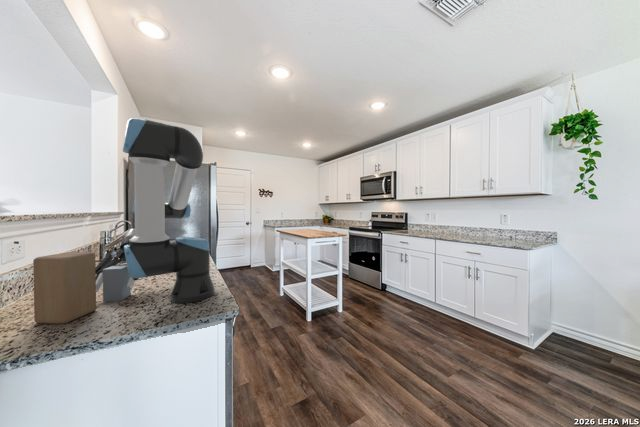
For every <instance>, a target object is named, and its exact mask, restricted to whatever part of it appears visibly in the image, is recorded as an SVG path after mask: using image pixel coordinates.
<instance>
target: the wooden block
mask: <svg viewBox="0 0 640 427" xmlns="http://www.w3.org/2000/svg"><path fill="white" fill-rule="evenodd" d="M32 262H33V265H32V266H33V270H32V272H33V309H34V310H33V311H34V312H33V313H34V314H33V316H34V317H33V320H34V322H35V324H67V323H69V322H72V321H74V320H77V319H78V318H81V317H83V316H85V315H88V314H89V313H92V312H94V311H96V309H97V292H96V276H97V275H96V266H97V265H96V253H94V252H92V251H89V252H88V251H87V252H86V251H83V252H82V251H76V252H75V251H74V252H73V251H70V252H69V251H67V252H62V253H61V252H60V253H55V254H49V255H42V256H37V257H35V258H33V261H32Z"/></svg>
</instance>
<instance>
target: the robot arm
mask: <svg viewBox="0 0 640 427" xmlns="http://www.w3.org/2000/svg"><path fill="white" fill-rule="evenodd" d="M124 132H125V133H124V139H123V146H122V152H123V153H125V154H128V159H129V161H131V162H132V163H133V165H134V166H133V167H134V168H133V169H134V171H133V172H134V173H133V174H134V200H133V203H132V207H131V210H132V213H131V220H130V221H131V224H130V226H129V227H128V230H126V233H125V235H124V238H123V240H122V241H121V243H120V246H119V249H118V250H117V251H112V250H109V251H108V252H107V253H106V256H104V257H103V259H102V260H101V261H100V262H99V263H98V264H97V265H96V293H99V291H100V290H101V287H102V286H103V269H106V268H108V267H111V266H118V264H120V263H122V262H126V265H127V268H128V273H129V276H130V280H129V282H128V284H127V287H128V288H129V289H131V290H133V287H134V285H135V282H136V281H138V280H139V279H143V278H149V277H155V276H161V275H162V276H163V275H167V274H174V273H175V281H174V284H173V287H172V289H171V293H170V300H171V302H173V303H178V304H186V303H195V302H200V301H203V300H206V299H208V298H210V297H213V295H214V294H215V286H214V283H213V280H212V278H211V275H210V251H211V250H210V243H209V240H208V239H206V238H201V237H191V236H190V237H188V236H182V237H181V236H178V237H176V238H175V239H174V241H171V238H170V236H169V235H167V233H166V231H165V230H166V229H165V228H166V220H174V219H175V220H182V219H188V218H190V217H191V212H192V211H191V205H190V203H188V202H189V200H190V197H191V192H192V189H193V186H194V183H195V178H196V175H197V171H198V169H200V168H201V166H202V164H203V160H204V153H203V148H202V145H201V143H200V142H199V140H198V139H197V137H196V136H195V135H194V134H193V133H192V132H191V131H190V130H188V129H186V128H184V127H183V126H176V125H171V124H168V123H163V122H158V121H154V120H150V119H145V118H144V119H143V118H138V117H137V118H136V117H131V118H129V119H128V120H127V123H126V127H125V131H124ZM171 159H172V160H173V159H174V162H175V163H176V164H175V169H174V172H173V173H174V174H173V178H172V184H171V188H170V192H169V197H168V201H167V202H166V198H165V197H166V182H165V181H166V178H165V177H166V167H167V166H168V165H170V163H171Z"/></svg>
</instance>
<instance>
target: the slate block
mask: <svg viewBox="0 0 640 427" xmlns="http://www.w3.org/2000/svg"><path fill="white" fill-rule="evenodd" d="M129 280H130V276H129V273H128V268H127V264H124V265H123V264H121V265H116V266H111V267H108V268H106V269H103V283H102V302H115V301H123V300H124V299H126V298H127V297H129V296H131V295H132V294H131V290H132V289H129V288H128V287H127V284H128V282H129Z"/></svg>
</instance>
